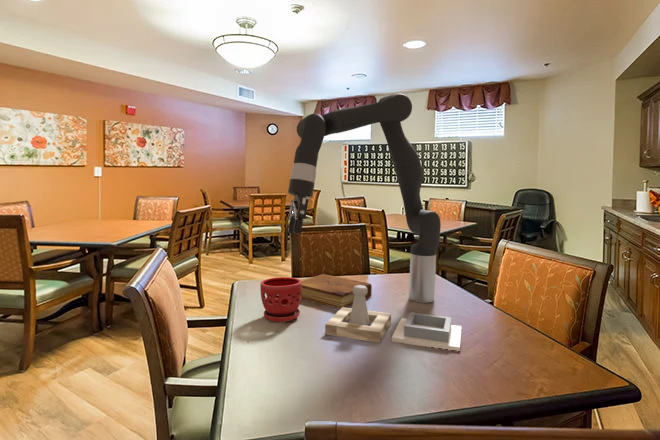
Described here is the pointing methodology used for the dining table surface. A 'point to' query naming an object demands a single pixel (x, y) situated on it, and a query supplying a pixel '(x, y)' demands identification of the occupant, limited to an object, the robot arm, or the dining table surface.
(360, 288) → the salt shaker
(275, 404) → the dining table surface
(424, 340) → the socket plate
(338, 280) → the diary
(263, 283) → the plant pot
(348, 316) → the birch holder block
